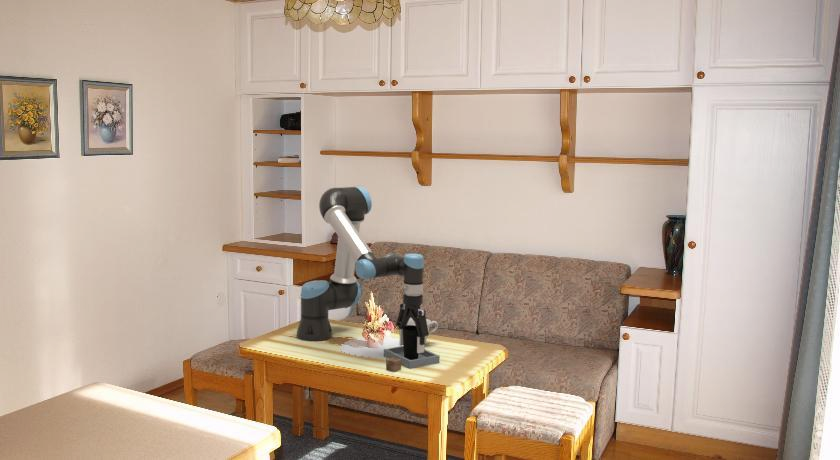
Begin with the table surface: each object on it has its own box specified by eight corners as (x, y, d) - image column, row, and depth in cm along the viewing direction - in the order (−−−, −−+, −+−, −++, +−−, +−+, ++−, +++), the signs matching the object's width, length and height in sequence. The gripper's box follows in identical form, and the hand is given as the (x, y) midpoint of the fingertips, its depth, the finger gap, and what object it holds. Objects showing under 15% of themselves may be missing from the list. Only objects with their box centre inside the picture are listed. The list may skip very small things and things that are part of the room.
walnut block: (386, 370, 287) (386, 359, 286) (392, 367, 290) (392, 357, 290) (394, 372, 285) (394, 362, 284) (401, 369, 288) (401, 359, 287)
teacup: (440, 347, 317) (441, 324, 316) (405, 349, 314) (406, 325, 312) (433, 339, 329) (434, 316, 328) (399, 341, 325) (400, 318, 324)
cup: (418, 361, 296) (419, 331, 294) (399, 359, 298) (400, 329, 296) (422, 355, 304) (423, 326, 301) (403, 353, 305) (404, 324, 303)
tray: (383, 356, 304) (383, 349, 303) (412, 350, 312) (412, 344, 312) (409, 368, 289) (409, 361, 289) (439, 362, 298) (439, 355, 297)
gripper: (388, 289, 304) (386, 342, 307) (423, 301, 285) (421, 358, 288) (403, 287, 309) (402, 340, 312) (439, 299, 290) (437, 355, 293)
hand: (411, 348), depth 300 cm, fingers open, 11 cm apart
